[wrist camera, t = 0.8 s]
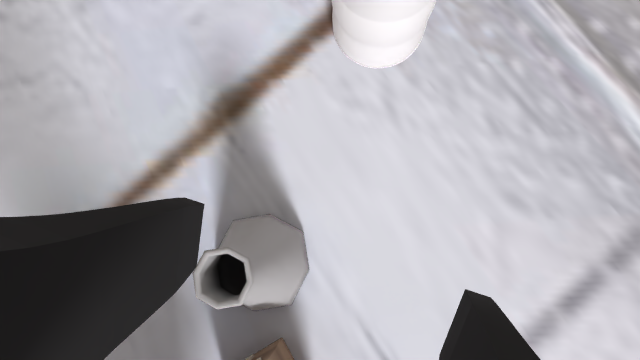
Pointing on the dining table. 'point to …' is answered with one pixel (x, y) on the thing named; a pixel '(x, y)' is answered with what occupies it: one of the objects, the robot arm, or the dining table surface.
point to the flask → (253, 265)
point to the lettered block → (273, 352)
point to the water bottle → (380, 29)
